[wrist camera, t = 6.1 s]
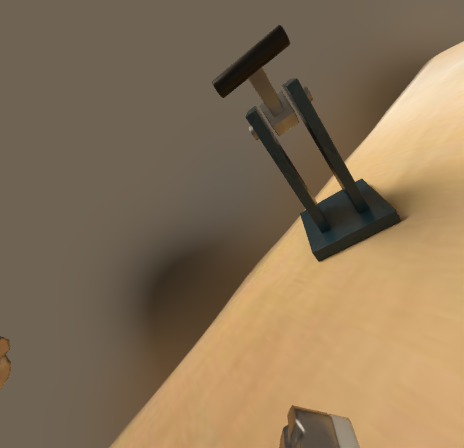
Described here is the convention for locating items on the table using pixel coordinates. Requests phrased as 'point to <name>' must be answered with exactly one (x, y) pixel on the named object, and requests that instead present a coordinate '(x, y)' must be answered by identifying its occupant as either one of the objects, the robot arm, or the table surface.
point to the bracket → (338, 205)
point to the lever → (261, 80)
